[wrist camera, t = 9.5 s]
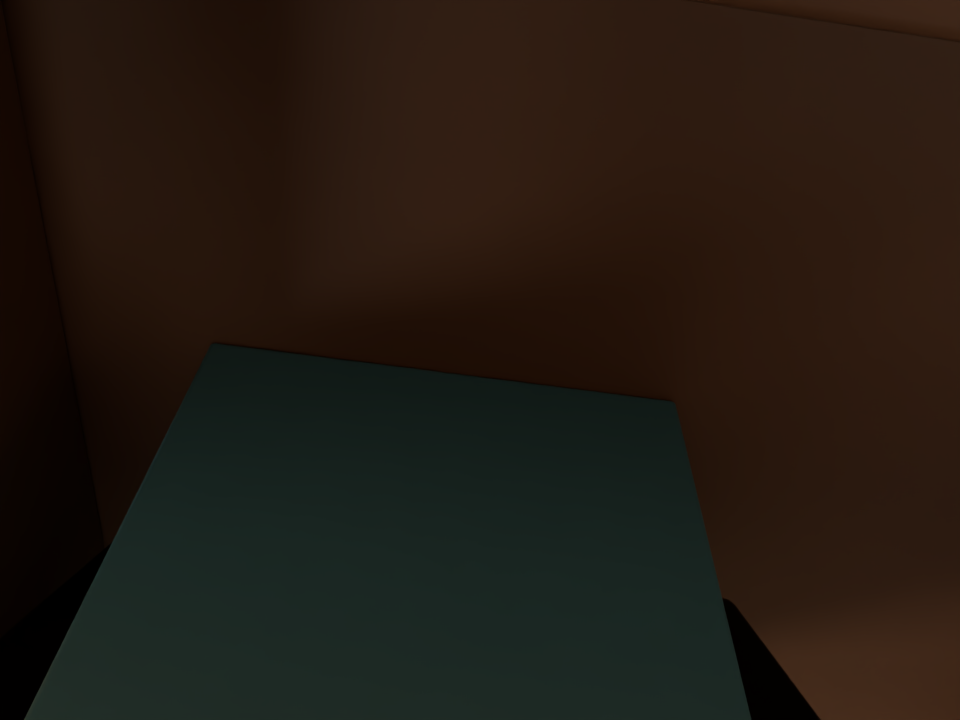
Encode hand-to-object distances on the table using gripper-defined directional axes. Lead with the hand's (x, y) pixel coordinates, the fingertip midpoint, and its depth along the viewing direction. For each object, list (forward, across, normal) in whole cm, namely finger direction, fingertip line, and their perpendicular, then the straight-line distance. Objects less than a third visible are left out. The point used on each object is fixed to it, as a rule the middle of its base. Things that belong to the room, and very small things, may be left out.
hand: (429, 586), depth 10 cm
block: (+1, 0, 0) cm, 1 cm away
